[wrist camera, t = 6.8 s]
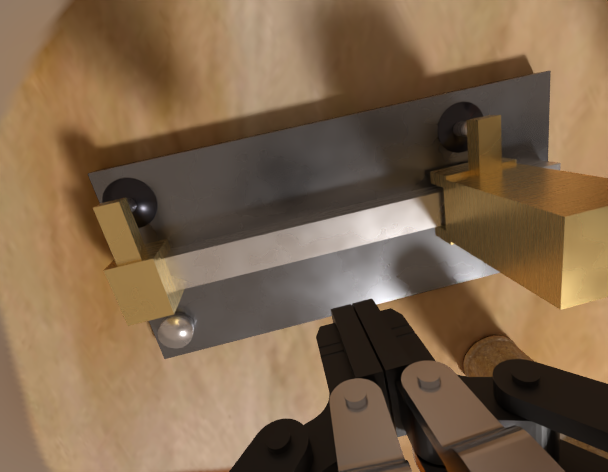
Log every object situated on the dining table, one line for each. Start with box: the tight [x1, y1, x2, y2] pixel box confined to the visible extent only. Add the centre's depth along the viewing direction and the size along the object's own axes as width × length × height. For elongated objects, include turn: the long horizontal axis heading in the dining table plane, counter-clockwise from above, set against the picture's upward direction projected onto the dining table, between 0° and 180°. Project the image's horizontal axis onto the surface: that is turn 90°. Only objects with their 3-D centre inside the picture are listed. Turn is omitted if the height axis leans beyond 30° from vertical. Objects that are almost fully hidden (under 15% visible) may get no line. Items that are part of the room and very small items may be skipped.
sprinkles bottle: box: [463, 335, 608, 459], centre depth 21 cm, size 5×5×14 cm
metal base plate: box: [88, 71, 550, 359], centre depth 21 cm, size 26×12×2 cm, turn 102°
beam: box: [93, 160, 560, 326], centre depth 19 cm, size 25×6×3 cm, turn 102°
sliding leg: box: [430, 115, 608, 310], centre depth 16 cm, size 4×7×10 cm, turn 12°
